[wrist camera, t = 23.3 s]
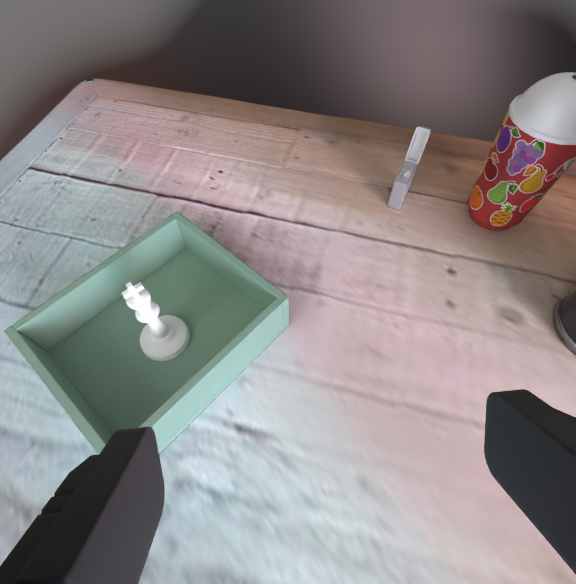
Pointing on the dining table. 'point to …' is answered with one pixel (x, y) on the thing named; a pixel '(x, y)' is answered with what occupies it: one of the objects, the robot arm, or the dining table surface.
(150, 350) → the chess piece
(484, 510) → the dining table surface
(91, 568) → the robot arm
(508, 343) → the dining table surface
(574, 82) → the smoothie
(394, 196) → the lighter
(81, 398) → the open box
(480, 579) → the dining table surface
